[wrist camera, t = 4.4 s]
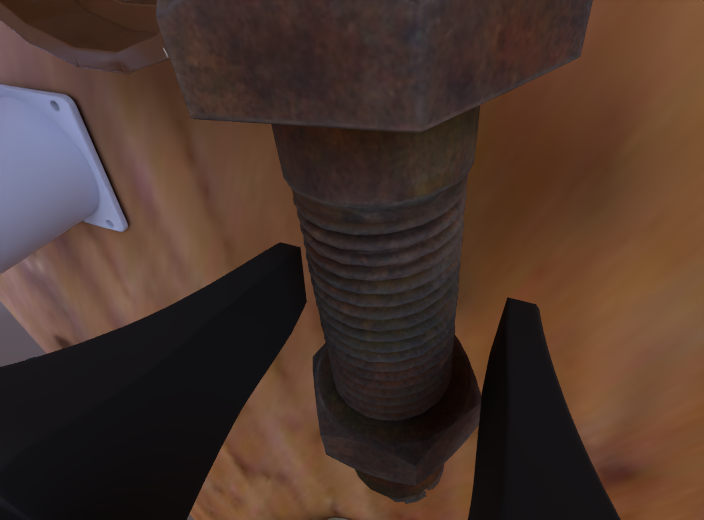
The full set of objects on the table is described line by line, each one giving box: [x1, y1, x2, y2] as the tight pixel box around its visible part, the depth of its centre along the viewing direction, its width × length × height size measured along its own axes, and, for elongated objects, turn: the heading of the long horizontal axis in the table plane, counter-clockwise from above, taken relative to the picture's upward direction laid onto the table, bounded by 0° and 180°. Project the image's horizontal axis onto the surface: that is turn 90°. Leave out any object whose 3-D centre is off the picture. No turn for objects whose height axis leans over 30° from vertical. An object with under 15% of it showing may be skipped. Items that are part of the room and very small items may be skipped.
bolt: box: [156, 0, 593, 504], centre depth 10 cm, size 6×5×15 cm
